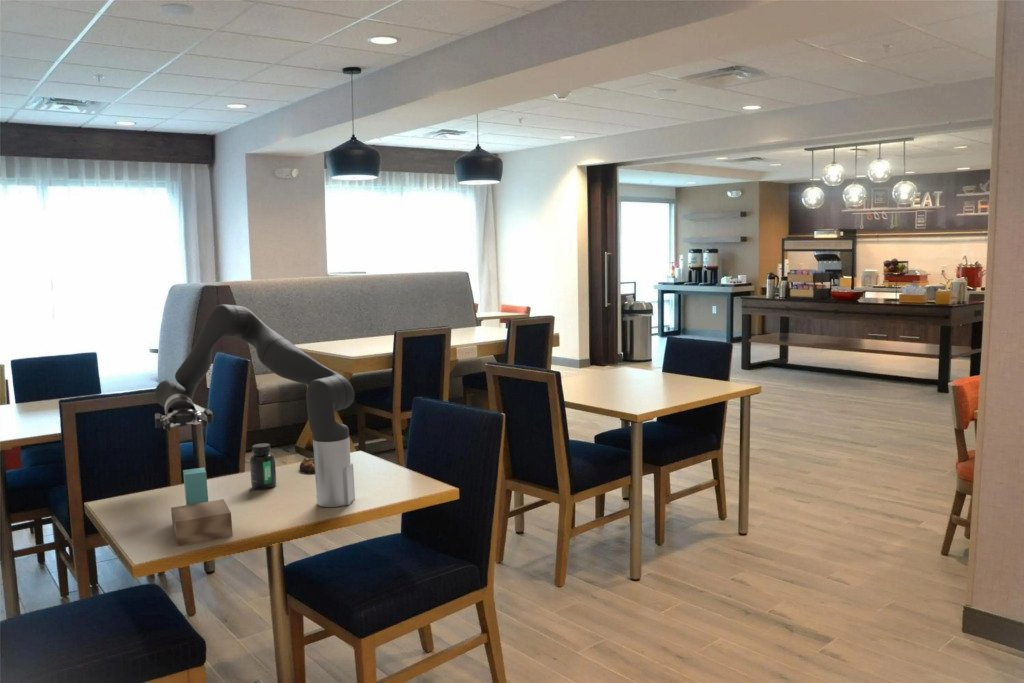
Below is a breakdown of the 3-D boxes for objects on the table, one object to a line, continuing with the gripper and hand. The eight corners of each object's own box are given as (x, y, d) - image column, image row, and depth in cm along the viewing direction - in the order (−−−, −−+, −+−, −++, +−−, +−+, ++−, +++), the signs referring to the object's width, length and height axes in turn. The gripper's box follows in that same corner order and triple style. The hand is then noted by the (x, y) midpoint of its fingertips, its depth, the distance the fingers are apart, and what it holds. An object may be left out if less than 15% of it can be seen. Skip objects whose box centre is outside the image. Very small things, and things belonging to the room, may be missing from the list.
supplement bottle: (274, 489, 225) (271, 447, 224) (249, 490, 224) (246, 448, 223) (278, 482, 232) (275, 441, 230) (254, 484, 231) (251, 443, 230)
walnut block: (225, 522, 199) (223, 499, 198) (232, 537, 188) (230, 512, 188) (173, 531, 193) (170, 507, 193) (177, 547, 183) (175, 521, 182)
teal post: (207, 512, 206) (204, 467, 205) (209, 518, 202) (206, 471, 200) (186, 516, 204) (183, 470, 203) (188, 522, 199) (184, 474, 198)
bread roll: (291, 472, 242) (292, 455, 242) (313, 467, 252) (313, 451, 252) (323, 476, 238) (324, 459, 238) (343, 471, 248) (344, 455, 248)
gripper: (151, 398, 219) (156, 414, 205) (206, 394, 226) (215, 409, 212) (152, 425, 220) (157, 442, 206) (207, 420, 227) (216, 436, 213)
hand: (186, 425), depth 209 cm, fingers open, 8 cm apart
